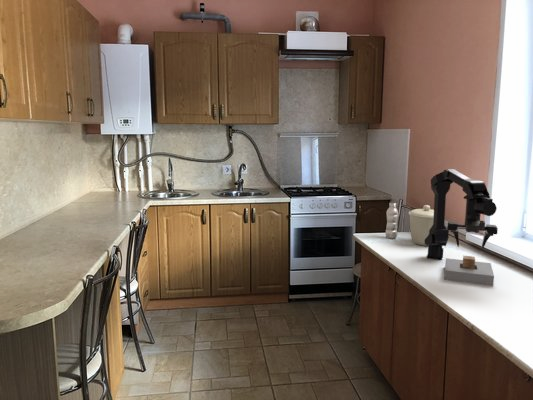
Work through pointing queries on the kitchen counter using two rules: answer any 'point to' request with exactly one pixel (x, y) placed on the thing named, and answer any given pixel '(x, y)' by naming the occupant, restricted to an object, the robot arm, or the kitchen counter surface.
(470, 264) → the walnut post
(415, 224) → the canister
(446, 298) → the kitchen counter surface
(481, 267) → the well block
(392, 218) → the plastic bottle
